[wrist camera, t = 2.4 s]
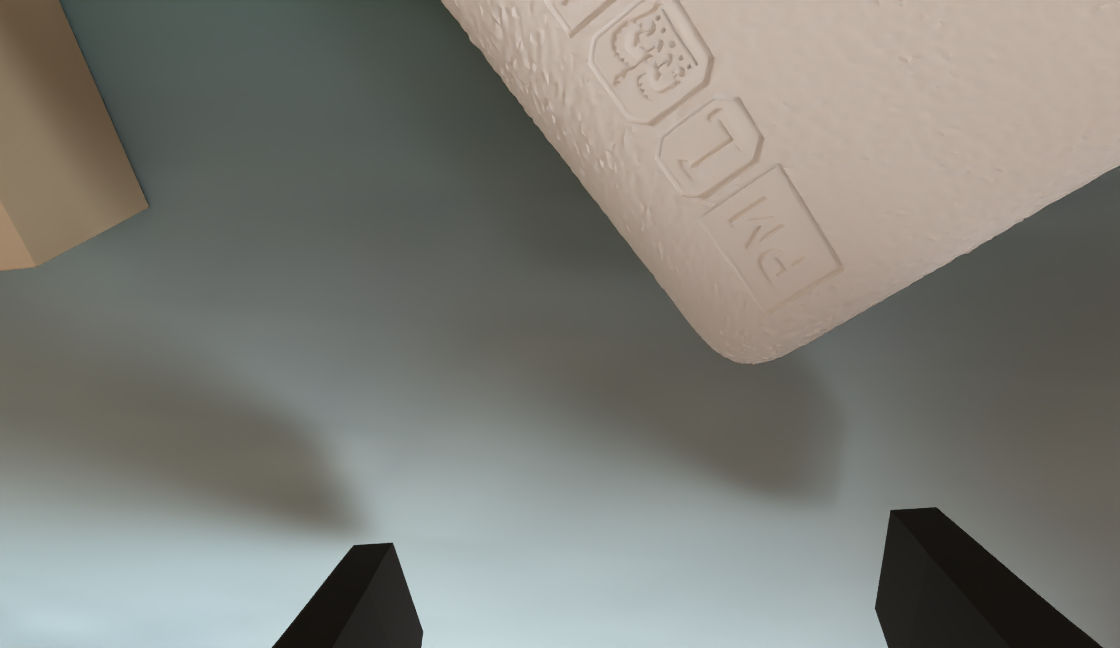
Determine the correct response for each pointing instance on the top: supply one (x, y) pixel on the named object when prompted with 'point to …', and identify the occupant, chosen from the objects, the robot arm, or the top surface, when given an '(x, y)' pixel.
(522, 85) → the soap
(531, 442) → the top surface
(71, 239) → the slot
